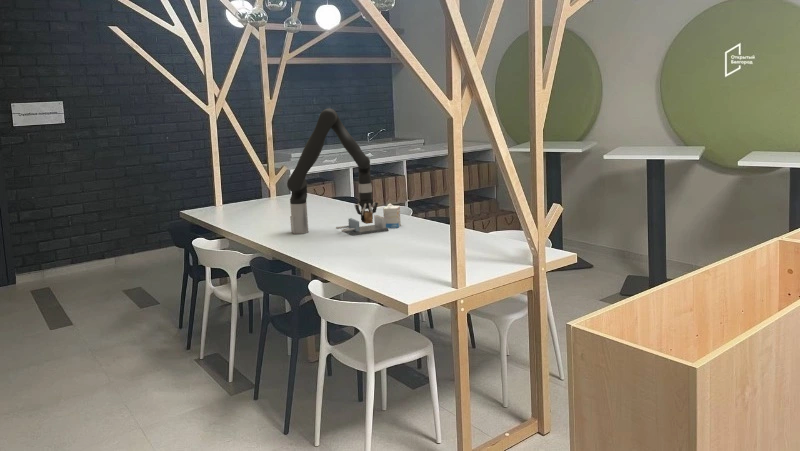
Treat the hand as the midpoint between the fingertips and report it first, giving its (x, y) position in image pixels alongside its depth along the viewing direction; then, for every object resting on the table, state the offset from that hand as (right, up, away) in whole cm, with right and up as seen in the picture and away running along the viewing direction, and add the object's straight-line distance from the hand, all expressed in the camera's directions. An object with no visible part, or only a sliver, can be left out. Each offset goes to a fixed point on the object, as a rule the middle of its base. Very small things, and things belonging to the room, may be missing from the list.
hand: (367, 220), depth 388 cm
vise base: (-1, -6, +1) cm, 6 cm away
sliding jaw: (-11, -5, -4) cm, 13 cm away
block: (0, -1, 0) cm, 1 cm away
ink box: (+14, -3, +11) cm, 18 cm away
